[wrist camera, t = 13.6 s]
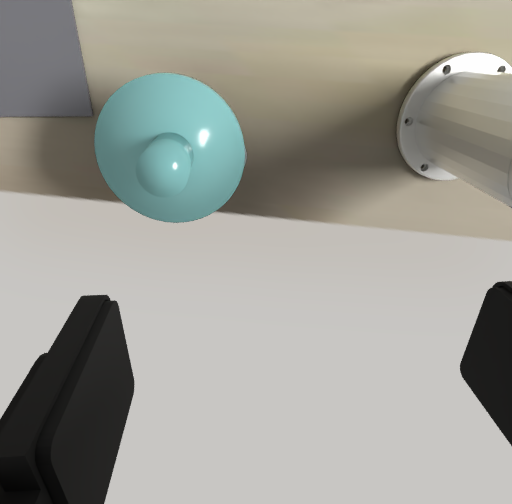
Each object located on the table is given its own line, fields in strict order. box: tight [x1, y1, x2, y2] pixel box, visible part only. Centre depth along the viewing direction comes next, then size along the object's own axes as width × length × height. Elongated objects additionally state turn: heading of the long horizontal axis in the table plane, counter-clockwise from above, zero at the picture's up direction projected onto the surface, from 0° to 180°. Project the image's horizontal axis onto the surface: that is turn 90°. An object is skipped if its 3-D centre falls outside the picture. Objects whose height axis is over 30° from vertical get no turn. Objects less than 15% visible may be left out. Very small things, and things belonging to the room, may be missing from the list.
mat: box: [0, 0, 93, 117], centre depth 33 cm, size 12×12×1 cm
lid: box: [94, 73, 245, 223], centre depth 29 cm, size 12×12×6 cm
